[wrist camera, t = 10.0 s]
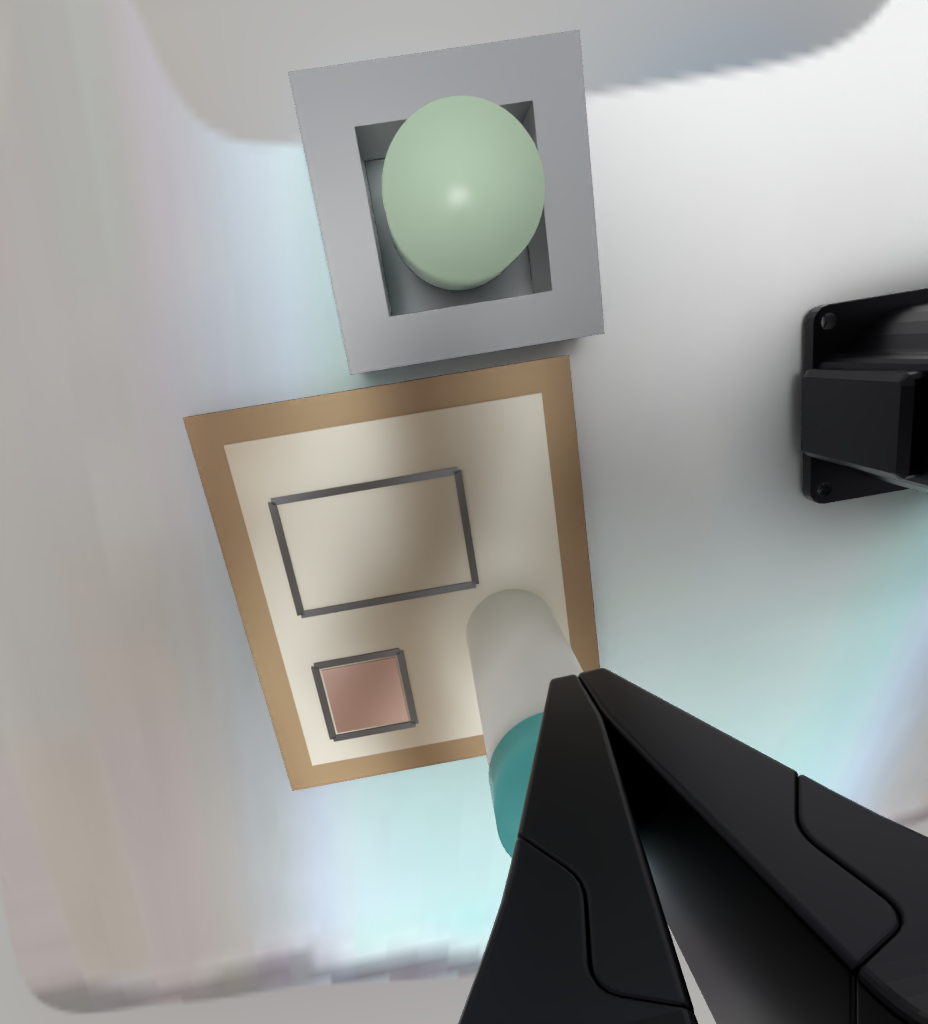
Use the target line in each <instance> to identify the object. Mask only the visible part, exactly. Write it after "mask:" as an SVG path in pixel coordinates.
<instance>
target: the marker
mask: <svg viewBox="0 0 928 1024" xmlns="http://www.w3.org/2000/svg"><path fill="white" fill-rule="evenodd" d="M466 638H467V645H468V650H469V656H470V662H471V667H472V673H473V679H474V685H475V690H476V696H477V702H478V707H479V713H480V719H481V725H482V730H483V736H484V742H485V747H486V753H487V759H488V765H489V783H490V788H491V794H492V800H493V806H494V812H495V818H496V824H497V830H498V834H499V838H500V840H501V843H502V845H503V847H504V848H505V850H506V851H507V853H508V854H509V855H510V856H511V857H512V856H513V851H514V846H515V842H516V840H517V834H518V829H519V825H520V820H521V815H522V810H523V806H524V801H525V796H526V792H527V787H528V782H529V777H530V773H531V768H532V763H533V759H534V754H535V749H536V744H537V740H538V735H539V730H540V726H541V721H542V716H543V711H544V707H545V702H546V697H547V693H548V688H549V683H550V681H551V680H552V679H554V678H559V677H563V676H568V675H572V674H573V675H576V676H577V677H578V676H579V674H580V673H582V672H583V670H582V668H581V666H580V664H579V662H578V660H577V658H576V656H575V654H574V653H573V651H572V649H571V647H570V645H569V643H568V641H567V639H566V637H565V635H564V633H563V631H562V630H561V628H560V626H559V624H558V622H557V620H556V618H555V616H554V614H553V612H552V610H551V609H550V607H549V606H548V604H547V603H546V602H545V601H544V600H542V599H541V598H540V597H538V596H537V595H535V594H533V593H530V592H527V591H523V590H505V591H501V592H498V593H495V594H493V595H491V596H489V597H487V598H486V599H484V600H483V601H482V602H481V603H480V604H479V605H478V606H477V607H476V608H475V609H474V611H473V612H472V614H471V616H470V618H469V620H468V623H467V628H466Z"/></svg>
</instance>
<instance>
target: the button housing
mask: <svg viewBox="0 0 928 1024" xmlns="http://www.w3.org/2000/svg"><path fill="white" fill-rule="evenodd" d="M288 74H289V79H290V84H291V88H292V94H293V98H294V103H295V108H296V113H297V118H298V123H299V127H300V133H301V137H302V142H303V147H304V152H305V157H306V162H307V167H308V171H309V176H310V181H311V186H312V191H313V196H314V200H315V205H316V210H317V215H318V220H319V225H320V230H321V234H322V239H323V244H324V249H325V254H326V259H327V264H328V268H329V273H330V278H331V283H332V288H333V293H334V298H335V302H336V307H337V312H338V317H339V322H340V327H341V331H342V336H343V341H344V346H345V351H346V356H347V361H348V365H349V370H350V375H352V374H358V373H364V372H370V371H376V370H383V369H389V368H395V367H401V366H407V365H413V364H420V363H426V362H432V361H438V360H444V359H450V358H457V357H463V356H469V355H475V354H481V353H487V352H493V351H500V350H506V349H512V348H518V347H524V346H530V345H537V344H543V343H549V342H555V341H561V340H567V339H574V338H580V337H586V336H592V335H598V334H604V323H603V310H602V298H601V286H600V274H599V261H598V249H597V237H596V224H595V212H594V200H593V188H592V175H591V163H590V151H589V138H588V126H587V114H586V102H585V89H584V77H583V65H582V52H581V40H580V30H574V31H568V32H561V33H554V34H547V35H540V36H533V37H526V38H519V39H512V40H505V41H499V42H491V43H485V44H478V45H471V46H464V47H457V48H450V49H443V50H437V51H429V52H423V53H415V54H409V55H402V56H395V57H388V58H382V59H375V60H367V61H361V62H354V63H346V64H340V65H333V66H327V67H319V68H312V69H305V70H299V71H291V72H288ZM461 95H463V96H474V97H478V98H482V99H486V100H488V101H491V102H493V103H495V104H497V105H499V106H500V107H502V108H504V109H505V110H507V111H508V112H509V113H510V114H512V115H513V116H514V117H515V118H516V119H517V120H518V121H519V122H520V123H521V124H522V125H523V127H524V128H525V129H526V131H527V132H528V133H529V135H530V137H531V139H532V140H533V142H534V144H535V146H536V148H537V151H538V153H539V156H540V159H541V163H542V166H543V173H544V180H545V196H544V205H543V210H542V215H541V218H540V221H539V224H538V226H537V229H536V231H535V233H534V235H533V237H532V238H531V240H530V242H529V243H528V250H529V259H530V267H531V276H532V285H533V294H528V295H522V296H516V297H509V298H503V299H497V300H491V301H484V302H478V303H472V304H466V305H459V306H453V307H447V308H440V309H434V310H428V311H422V312H415V313H409V314H403V315H397V316H392V313H391V307H390V302H389V296H388V291H387V285H386V279H385V274H384V268H383V263H382V257H381V252H380V246H379V241H378V235H377V230H376V224H375V219H374V213H373V208H372V202H371V197H370V191H369V185H368V180H367V174H366V169H365V163H364V161H367V160H374V159H380V158H386V154H387V152H388V149H389V147H390V144H391V142H392V140H393V138H394V136H395V135H396V133H397V132H398V130H399V129H400V127H401V126H402V125H403V123H404V122H405V121H406V120H407V119H408V118H409V117H410V116H411V115H412V114H414V113H415V112H416V111H417V110H419V109H420V108H422V107H423V106H425V105H427V104H429V103H430V102H433V101H436V100H438V99H441V98H445V97H450V96H461Z"/></svg>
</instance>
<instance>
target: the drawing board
mask: <svg viewBox="0 0 928 1024" xmlns="http://www.w3.org/2000/svg"><path fill="white" fill-rule="evenodd" d="M183 420H184V423H185V427H186V430H187V434H188V437H189V440H190V444H191V447H192V451H193V454H194V457H195V461H196V464H197V468H198V471H199V474H200V478H201V481H202V485H203V488H204V492H205V495H206V498H207V502H208V505H209V509H210V512H211V515H212V519H213V522H214V526H215V529H216V532H217V536H218V539H219V543H220V546H221V549H222V553H223V556H224V560H225V563H226V566H227V570H228V573H229V577H230V580H231V584H232V587H233V590H234V594H235V597H236V601H237V604H238V607H239V611H240V614H241V618H242V621H243V624H244V628H245V631H246V635H247V638H248V641H249V645H250V648H251V652H252V655H253V658H254V662H255V665H256V669H257V672H258V676H259V679H260V682H261V686H262V689H263V693H264V696H265V699H266V703H267V706H268V710H269V713H270V716H271V720H272V723H273V727H274V730H275V733H276V737H277V740H278V744H279V747H280V750H281V754H282V757H283V761H284V764H285V768H286V771H287V774H288V778H289V781H290V785H291V788H292V791H294V790H300V789H305V788H310V787H316V786H321V785H327V784H332V783H337V782H343V781H348V780H354V779H359V778H364V777H370V776H375V775H381V774H386V773H391V772H397V771H402V770H408V769H413V768H418V767H424V766H429V765H435V764H440V763H445V762H451V761H456V760H462V759H467V758H473V757H478V756H483V755H487V753H486V747H485V742H484V736H483V730H482V725H481V719H480V713H479V707H478V702H477V696H476V690H475V685H474V679H473V673H472V667H471V662H470V656H469V650H468V645H467V638H466V628H467V623H468V620H469V618H470V616H471V614H472V612H473V611H474V609H475V608H476V607H477V606H478V605H479V604H480V603H481V602H482V601H483V600H484V599H486V598H487V597H489V596H491V595H493V594H495V593H498V592H501V591H505V590H523V591H527V592H530V593H533V594H535V595H537V596H538V597H540V598H541V599H542V600H544V601H545V602H546V603H547V604H548V606H549V607H550V609H551V610H552V612H553V614H554V616H555V618H556V620H557V622H558V624H559V626H560V628H561V630H562V631H563V633H564V635H565V637H566V639H567V641H568V643H569V645H570V647H571V649H572V651H573V653H574V654H575V656H576V658H577V660H578V662H579V664H580V666H581V668H582V670H583V672H586V671H590V670H594V669H599V668H600V665H599V655H598V645H597V635H596V625H595V615H594V605H593V594H592V584H591V574H590V564H589V554H588V544H587V534H586V524H585V514H584V504H583V494H582V484H581V474H580V464H579V454H578V443H577V433H576V423H575V413H574V403H573V393H572V383H571V373H570V363H569V355H563V356H557V357H551V358H545V359H539V360H533V361H526V362H520V363H514V364H508V365H502V366H496V367H490V368H484V369H477V370H471V371H465V372H459V373H453V374H447V375H441V376H435V377H428V378H422V379H416V380H410V381H404V382H398V383H392V384H385V385H379V386H373V387H367V388H361V389H355V390H349V391H343V392H336V393H330V394H324V395H318V396H312V397H306V398H300V399H294V400H287V401H281V402H275V403H269V404H263V405H257V406H251V407H245V408H238V409H232V410H226V411H220V412H214V413H208V414H202V415H196V416H189V417H185V418H183Z"/></svg>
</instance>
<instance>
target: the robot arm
mask: <svg viewBox="0 0 928 1024" xmlns="http://www.w3.org/2000/svg"><path fill="white" fill-rule="evenodd" d="M824 315H826V316H827V319H828V322H827V325H826V327H825V328H823V327H822V326H821V320H822V317H823V316H824ZM801 448H802V451H803V494H804V496H805V497H806V498H807V499H809V500H811V501H814V502H816V503H830V502H836V501H841V500H847V499H853V498H859V497H864V496H870V495H876V494H881V493H887V492H893V491H899V490H904V489H914V490H918V491H921V492H925V493H928V288H925V289H919V290H913V291H907V292H901V293H895V294H889V295H882V296H876V297H870V298H864V299H858V300H852V301H846V302H839V303H833V304H827V305H821V306H818V307H815V308H814V309H813V310H811V311H810V312H809V314H808V316H807V317H806V322H805V357H804V377H803V379H802V440H801ZM822 483H823V485H824V487H823V490H822V491H821V492H820V493H818V492H817V490H818V487H819V485H820V484H822ZM667 923H668V924H667ZM668 925H669V927H670V929H671V931H672V933H673V935H674V937H675V939H676V942H677V944H678V946H679V948H680V950H681V952H682V954H683V956H684V958H685V960H686V962H687V964H688V966H689V968H690V970H691V972H692V974H693V976H694V978H695V980H696V983H697V985H698V987H699V989H700V990H701V993H702V995H703V997H704V999H705V1001H706V1003H707V1005H708V1007H709V1009H710V1011H711V1013H712V1015H713V1017H714V1019H715V1021H716V1023H717V1024H928V837H926V836H924V835H922V834H920V833H917V832H915V831H913V830H911V829H909V828H907V827H905V826H903V825H900V824H898V823H896V822H894V821H892V820H890V819H888V818H885V817H883V816H881V815H879V814H877V813H875V812H873V811H871V810H869V809H867V808H865V807H863V806H862V805H860V804H858V803H856V802H854V801H852V800H850V799H848V798H846V797H844V796H842V795H840V794H838V793H836V792H834V791H832V790H830V789H828V788H827V787H825V786H823V785H821V784H819V783H817V782H815V781H814V780H812V779H810V778H808V777H806V776H804V775H799V776H798V774H797V772H796V771H795V770H793V769H791V768H789V767H787V766H785V765H783V764H782V763H780V762H778V761H776V760H774V759H772V758H770V757H769V756H767V755H765V754H763V753H761V752H759V751H758V750H756V749H754V748H752V747H750V746H748V745H746V744H745V743H743V742H741V741H739V740H737V739H735V738H733V737H732V736H730V735H728V734H726V733H724V732H722V731H720V730H719V729H717V728H715V727H713V726H711V725H709V724H707V723H706V722H704V721H702V720H700V719H698V718H696V717H694V716H693V715H691V714H689V713H687V712H685V711H683V710H681V709H680V708H678V707H676V706H674V705H672V704H670V703H668V702H667V701H665V700H663V699H661V698H659V697H657V696H655V695H654V694H652V693H650V692H648V691H646V690H644V689H642V688H641V687H639V686H637V685H635V684H633V683H631V682H629V681H628V680H626V679H624V678H622V677H620V676H618V675H616V674H615V673H613V672H611V671H609V670H607V669H605V668H599V669H594V670H590V671H586V672H582V673H580V674H579V676H578V677H577V676H576V675H573V674H572V675H568V676H563V677H559V678H554V679H552V680H551V681H550V683H549V688H548V693H547V697H546V702H545V707H544V711H543V716H542V721H541V726H540V730H539V735H538V740H537V744H536V749H535V754H534V759H533V763H532V768H531V773H530V777H529V782H528V787H527V792H526V796H525V801H524V806H523V810H522V815H521V820H520V825H519V829H518V834H517V840H516V842H515V846H514V851H513V856H512V861H511V865H510V869H509V873H508V877H507V881H506V885H505V889H504V893H503V897H502V901H501V904H500V907H499V910H498V913H497V916H496V919H495V922H494V925H493V928H492V931H491V934H490V937H489V940H488V943H487V946H486V949H485V952H484V955H483V957H482V960H481V963H480V966H479V968H478V971H477V974H476V976H475V979H474V982H473V985H472V987H471V990H470V993H469V995H468V998H467V1001H466V1004H465V1007H464V1009H463V1012H462V1015H461V1018H460V1020H459V1023H458V1024H698V1021H697V1020H696V1017H695V1015H694V1008H693V1005H692V1002H691V999H690V995H689V992H688V989H687V986H686V982H685V979H684V976H683V973H682V970H681V966H680V963H679V960H678V957H677V954H676V950H675V947H674V944H673V941H672V938H671V934H670V931H669V928H668Z"/></svg>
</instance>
